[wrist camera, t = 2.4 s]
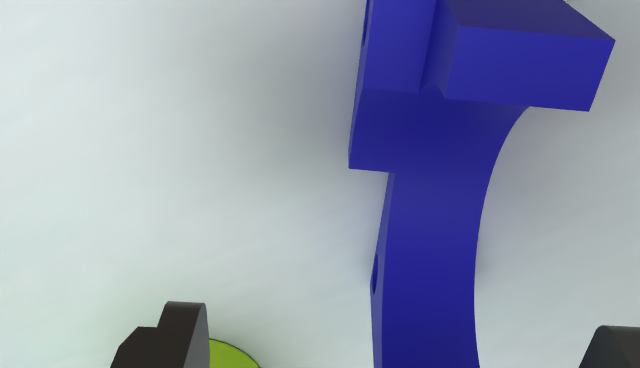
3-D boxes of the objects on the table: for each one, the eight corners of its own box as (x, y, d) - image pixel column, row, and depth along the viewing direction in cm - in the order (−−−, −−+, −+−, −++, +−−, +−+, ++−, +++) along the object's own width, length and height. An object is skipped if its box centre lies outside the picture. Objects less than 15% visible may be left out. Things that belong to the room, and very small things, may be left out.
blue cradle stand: (371, -40, 16) (382, 18, 11) (529, -25, 16) (615, 40, 11) (332, 278, 22) (327, 410, 17) (444, 288, 22) (473, 423, 17)
